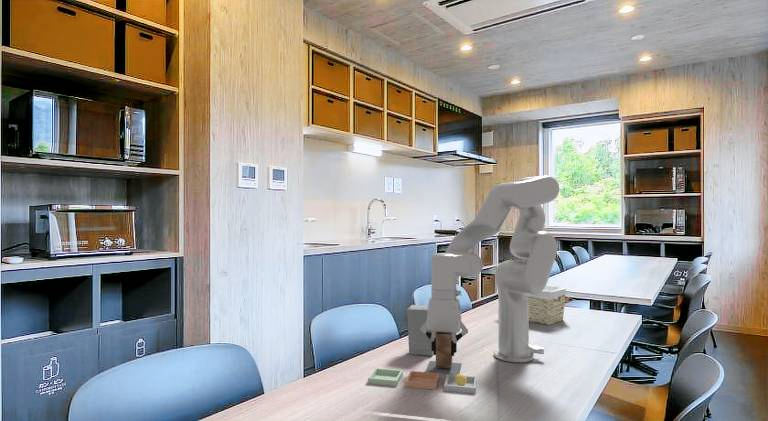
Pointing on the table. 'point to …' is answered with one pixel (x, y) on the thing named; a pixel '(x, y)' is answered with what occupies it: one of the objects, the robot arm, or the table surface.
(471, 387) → the grey tub
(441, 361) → the walnut block
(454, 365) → the rubber mat
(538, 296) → the storage basket
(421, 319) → the skincare box
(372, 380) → the sage tub
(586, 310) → the table surface
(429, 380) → the terracotta tub
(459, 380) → the mustard ball
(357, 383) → the table surface
